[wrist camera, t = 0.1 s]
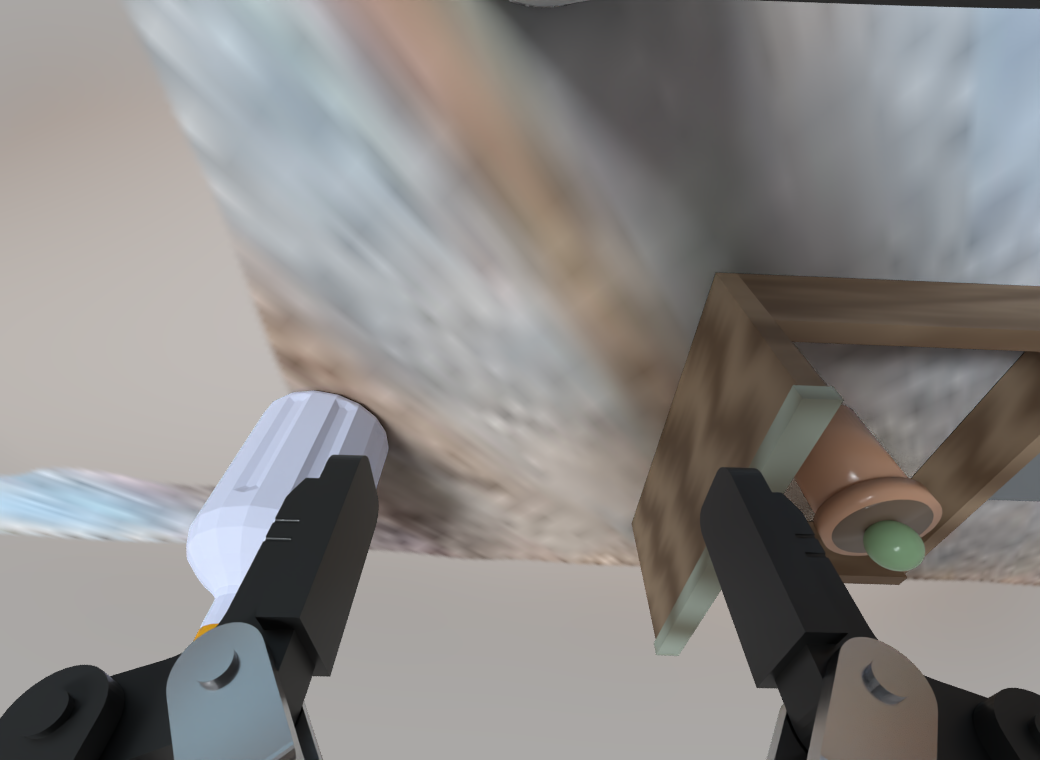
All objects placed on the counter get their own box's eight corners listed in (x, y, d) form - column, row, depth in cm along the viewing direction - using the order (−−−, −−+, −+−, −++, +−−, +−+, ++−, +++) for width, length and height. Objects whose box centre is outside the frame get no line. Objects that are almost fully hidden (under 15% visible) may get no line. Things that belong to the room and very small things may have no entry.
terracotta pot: (789, 397, 32) (883, 533, 23) (881, 400, 32) (1005, 537, 24) (756, 459, 36) (825, 594, 27) (837, 462, 36) (930, 597, 28)
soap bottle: (364, 486, 38) (203, 963, 19) (251, 444, 35) (-76, 963, 16) (410, 422, 34) (256, 970, 14) (284, 367, 30) (-125, 971, 11)
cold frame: (712, 272, 26) (802, 398, 17) (1102, 289, 26) (1374, 419, 18) (629, 523, 41) (656, 655, 33) (877, 531, 42) (966, 663, 33)
